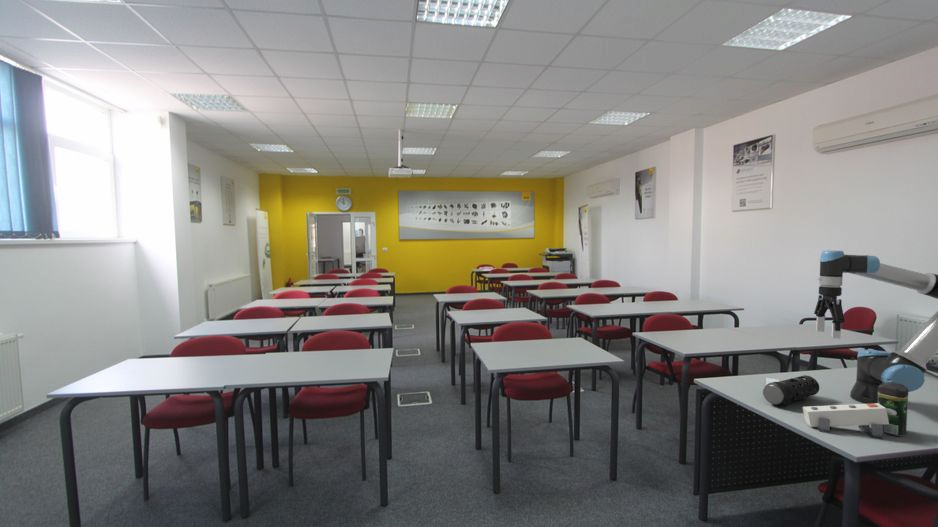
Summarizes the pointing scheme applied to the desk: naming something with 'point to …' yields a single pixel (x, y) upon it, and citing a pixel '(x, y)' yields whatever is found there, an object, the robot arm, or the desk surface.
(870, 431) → the bracket near
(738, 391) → the desk surface
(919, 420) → the desk surface
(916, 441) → the desk surface
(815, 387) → the muzzle brake
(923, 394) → the desk surface
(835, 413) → the socket bar
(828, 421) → the bracket far
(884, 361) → the robot arm
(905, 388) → the coffee jar
